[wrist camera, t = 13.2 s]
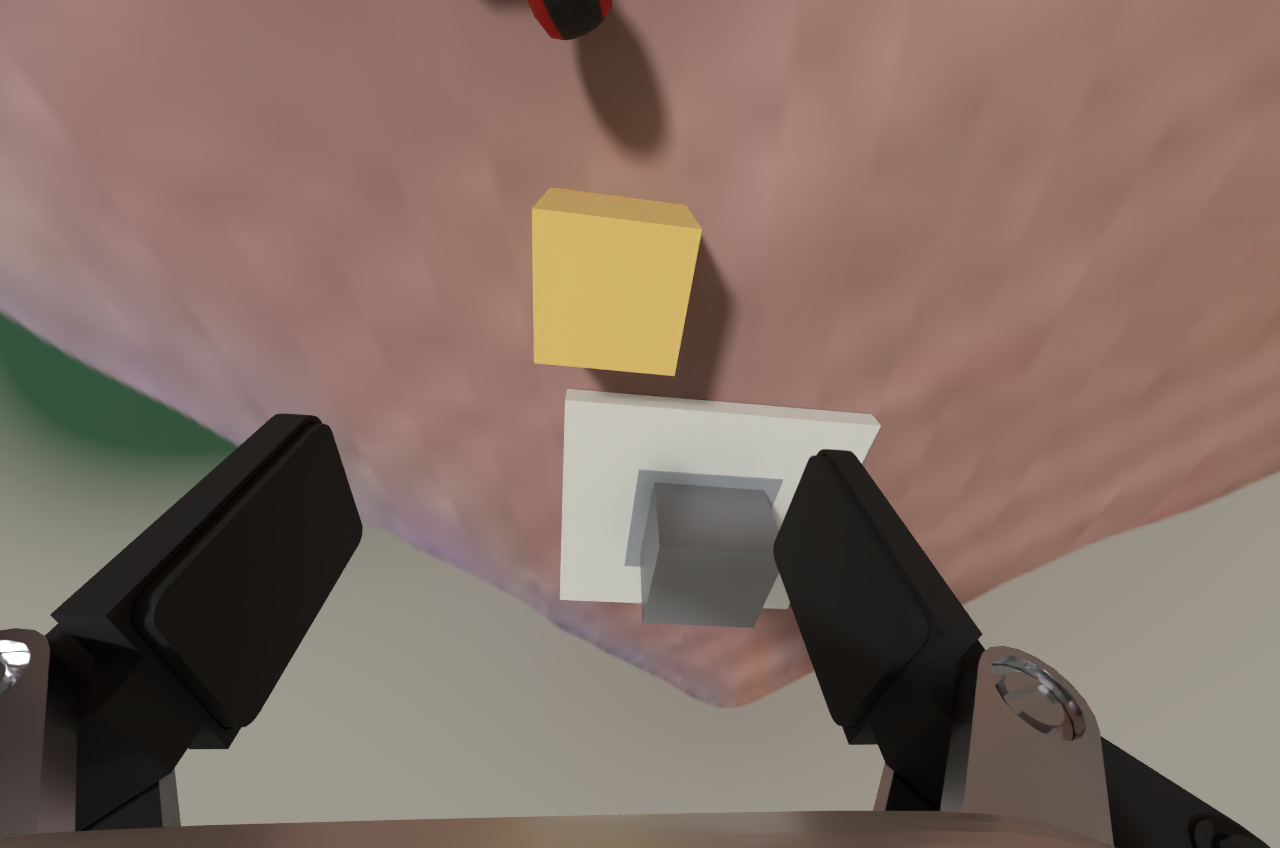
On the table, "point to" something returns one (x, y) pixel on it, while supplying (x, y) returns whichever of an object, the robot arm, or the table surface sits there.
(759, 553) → the charcoal brick
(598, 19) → the action figure
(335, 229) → the table surface
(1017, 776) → the robot arm
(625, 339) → the ochre brick
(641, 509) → the base plate
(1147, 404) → the table surface
